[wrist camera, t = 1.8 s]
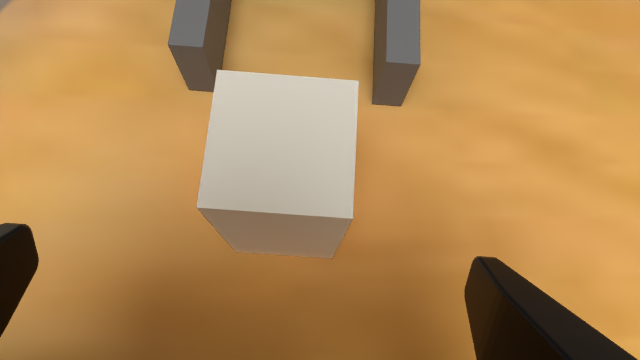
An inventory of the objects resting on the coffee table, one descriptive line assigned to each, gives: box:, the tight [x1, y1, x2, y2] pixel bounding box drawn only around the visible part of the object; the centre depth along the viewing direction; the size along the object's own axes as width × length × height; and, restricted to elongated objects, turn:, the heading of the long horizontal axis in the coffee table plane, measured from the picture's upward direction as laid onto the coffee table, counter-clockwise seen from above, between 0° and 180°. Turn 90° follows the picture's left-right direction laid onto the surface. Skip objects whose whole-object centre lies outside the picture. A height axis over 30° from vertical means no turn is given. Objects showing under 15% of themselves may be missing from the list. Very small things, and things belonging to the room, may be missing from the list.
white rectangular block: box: [196, 70, 359, 259], centre depth 18 cm, size 4×4×8 cm
